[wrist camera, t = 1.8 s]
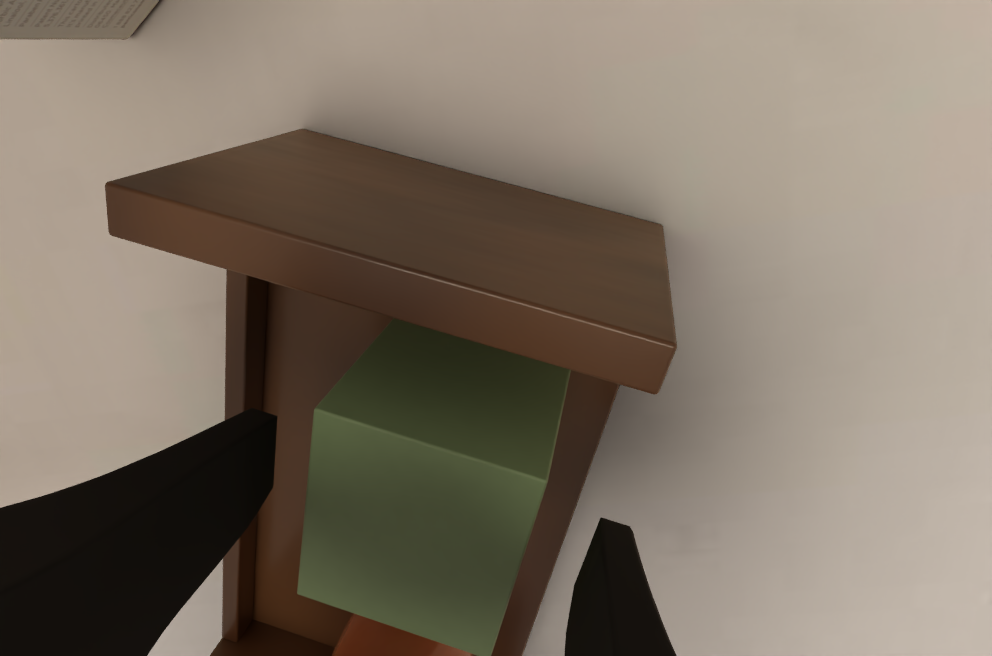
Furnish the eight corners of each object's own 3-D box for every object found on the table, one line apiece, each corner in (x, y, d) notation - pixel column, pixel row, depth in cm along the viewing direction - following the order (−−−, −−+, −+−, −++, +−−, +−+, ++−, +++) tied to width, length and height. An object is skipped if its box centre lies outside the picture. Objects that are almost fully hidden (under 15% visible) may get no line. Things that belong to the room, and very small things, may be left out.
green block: (527, 503, 18) (489, 660, 13) (380, 456, 18) (295, 594, 14) (574, 352, 15) (548, 481, 11) (405, 303, 16) (313, 408, 11)
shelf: (663, 224, 16) (679, 345, 10) (510, 663, 24) (465, 880, 18) (300, 127, 17) (102, 181, 11) (271, 581, 25) (149, 761, 19)
